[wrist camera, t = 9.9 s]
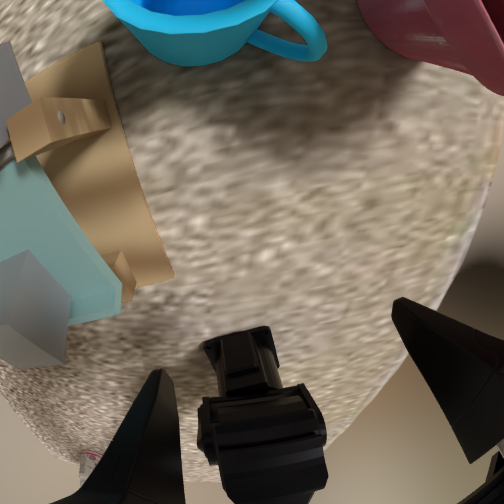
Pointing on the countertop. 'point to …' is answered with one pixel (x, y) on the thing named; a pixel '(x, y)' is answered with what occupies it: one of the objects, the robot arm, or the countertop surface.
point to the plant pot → (444, 34)
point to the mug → (216, 28)
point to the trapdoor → (48, 218)
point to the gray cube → (32, 314)
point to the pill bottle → (88, 464)
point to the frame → (90, 164)
